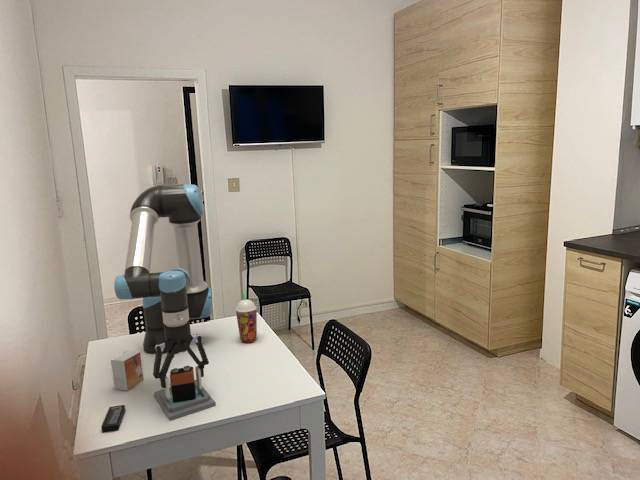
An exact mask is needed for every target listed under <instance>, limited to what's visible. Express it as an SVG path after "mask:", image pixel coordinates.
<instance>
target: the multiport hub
mask: <svg viewBox="0 0 640 480" xmlns="http://www.w3.org/2000/svg"><path fill="white" fill-rule="evenodd" d="M126 411H127V410H126V405H125V404H120V405H114V406H113V405H112V406H109V407H108V410H107V412H106V414H105V418H104V419H103V421H102V424H101V426H100V427H101V433H103V434H104V433H111V432H118V431H120V428H121V426H122V425H121V424H122V422H123V419H124V416H125V414H126Z"/></svg>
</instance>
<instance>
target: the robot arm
mask: <svg viewBox="0 0 640 480" xmlns="http://www.w3.org/2000/svg"><path fill="white" fill-rule="evenodd" d="M204 214H205V208H204V202H203V198H202V194H201V191H200V188H199V187H198V186H197V185H196V184H188V183H187V184H186V183H185V184H170V185H155V186H151V187H149V188H147V189H145V190H144V191H142V192H141V193H140V194H139V195H138V197H137V198H136V199H135V200H134V202H133V203H132V206H131V208H130V212H129V219H130V221H131V227H130V234H129V240H128V246H127V253H126V254H127V255H126V261H125V267H124V274H121V275H118V276H116V277H115V279H114V282H113V283H114V285H113V286H114V287H113V288H114V293H115V296H116V297H117V299H118V300H133V299H134V300H135V299H142V308H143V316H144V317H143V318H144V325H145V335H144V338H143V343H142V346H143V351H144V353H146V354H150V355H151V354H152V355H155V356H154V363H153V369H152V370H153V371H152V375H153V377H154V379H156V380H157V379H159V383H160V387H161V389H162V390H163V389H165V396H166V397H167V399H170V391H169V388H170V383H169V377H168V376H167V375H168V371H169V369H170V366H171V363H172V361H173V359H174V357H175V355H178V354H180V353H185V352H187V353H188V354H189V356H190V357H191V358H192V360H193V361H194V362H195V363H196V365H197V366H195V368H194V369H195V378H196V379H195V380H197V386H198V388H199V389H202V387H203V383H202V378H204V376H205V373H204V372H205V371H204V369H205V366H207V365H209V364H210V362H209V359H208V356H207V354H206V350H205V348H204V346H203V337H202V335H201V334H200V333H196V334H195V335H192V333H191V332H192V331H191V323H190V320H196V319H199V320H200V319H205V318H209V317H211V314H212V301H213V300H212V299H213V288H212V287H209V285H208V283H207V282H206V281H205V280H204V274H203V265H202V264H203V263H202V254H201V247H200V238H199V228H198V223H200V221H201V219H202V217H201V216H203V215H204ZM161 218H167V219H168V223H169V224H171V226H173V228H174V229H173V230H174V239H175V244H176V245H175V247H176V254H177V262H178V267H176V268H173V269H171V270H169V271H161V272H151V263H152V254H153V253H152V252H153V245H154V244H153V243H154V237H155V236H154V234H155V225H156V224H157V223H158V221H159V219H161ZM192 342H194V343H195V344H196V347H197V349H198V353H199V354H200V357H201V360H200V358H199V357H198V356H197V355H196V354H195V351H193V350H192V348H191V345H192ZM163 354H166V356H165V358H164V361H163V364H162V356H163ZM161 364H162V366H161Z"/></svg>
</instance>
